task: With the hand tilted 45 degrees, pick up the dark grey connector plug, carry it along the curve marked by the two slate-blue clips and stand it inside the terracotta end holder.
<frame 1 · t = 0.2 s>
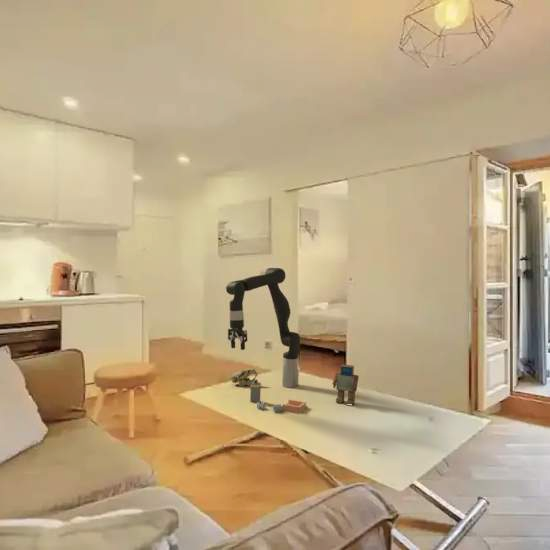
hand: (238, 348, 228), 28 cm above the table, tool pointing down, fingers open, 8 cm apart
plug: (255, 401, 228), on the table
skull: (243, 385, 260), on the table
clip b: (277, 411, 213), on the table
holder: (293, 408, 218), on the table
toy: (345, 403, 230), on the table
clip a: (260, 408, 217), on the table
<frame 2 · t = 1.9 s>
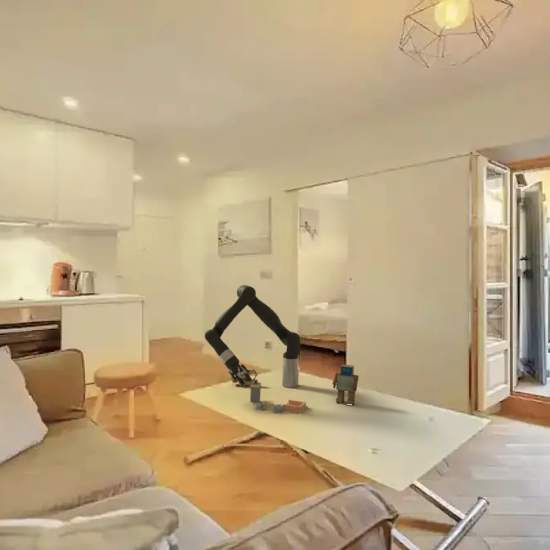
hand: (247, 382, 230), 10 cm above the table, tool tilted 45°, fingers open, 8 cm apart
nothing on the table moved.
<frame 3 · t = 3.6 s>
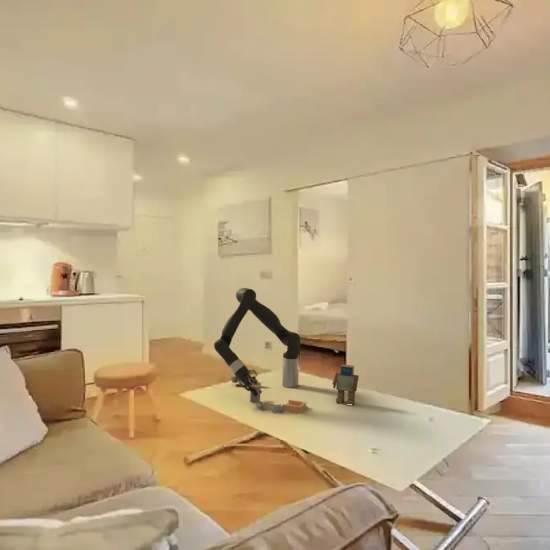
hand: (258, 394, 227), 4 cm above the table, tool tilted 45°, fingers closed on plug, 4 cm apart
plug: (255, 401, 228), on the table, touching gripper
everything else where it was.
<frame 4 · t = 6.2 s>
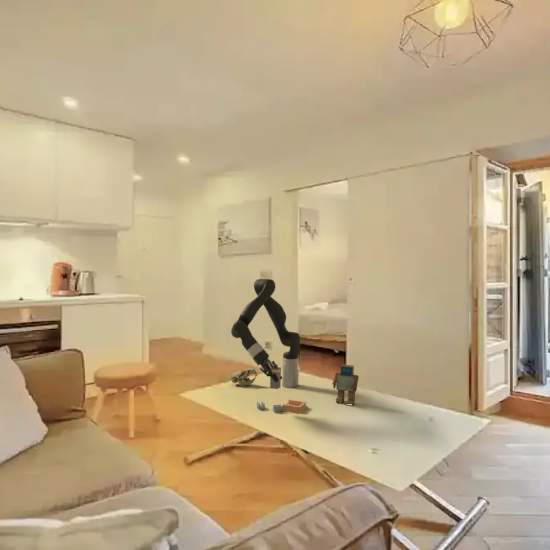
hand: (279, 380, 213), 16 cm above the table, tool tilted 45°, fingers closed on plug, 4 cm apart
plug: (275, 387, 214), point 12 cm above the table, touching gripper
everything else where it was.
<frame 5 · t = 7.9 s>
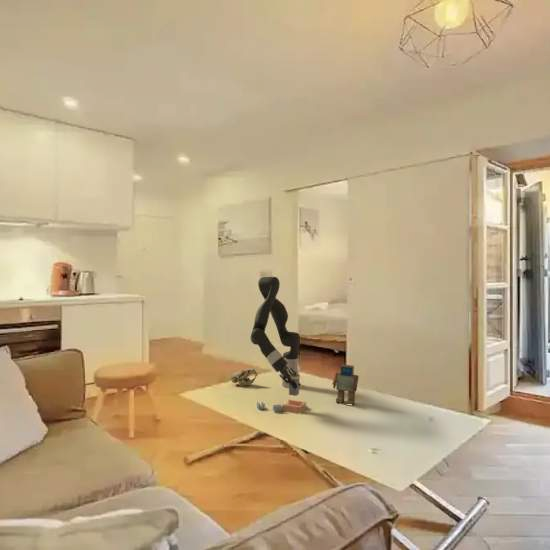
hand: (297, 386, 217), 12 cm above the table, tool tilted 45°, fingers closed on plug, 4 cm apart
plug: (293, 394, 218), point 8 cm above the table, touching gripper
everything else where it was.
when the fingers open (6 cm above the table, at t = 9.1 s): plug drops 1 cm, resting on holder.
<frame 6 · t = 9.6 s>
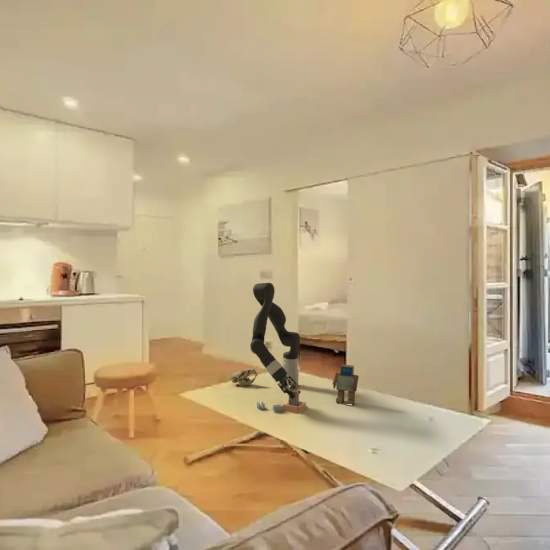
hand: (296, 395, 217), 7 cm above the table, tool tilted 45°, fingers open, 8 cm apart
plug: (293, 407, 218), point 1 cm above the table, touching holder
everything else where it was.
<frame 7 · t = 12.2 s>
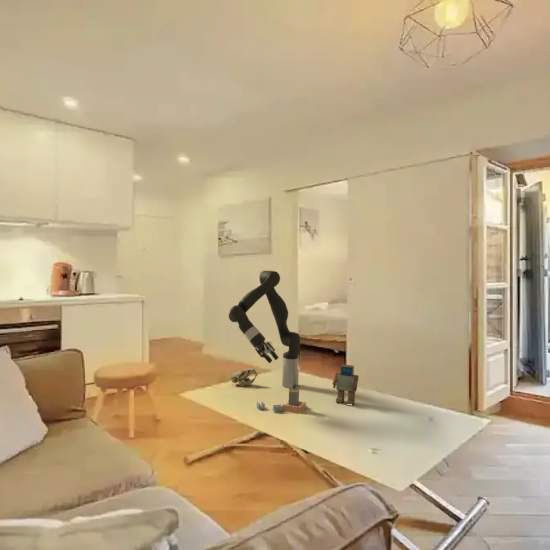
hand: (274, 360, 222), 24 cm above the table, tool tilted 45°, fingers open, 8 cm apart
nothing on the table moved.
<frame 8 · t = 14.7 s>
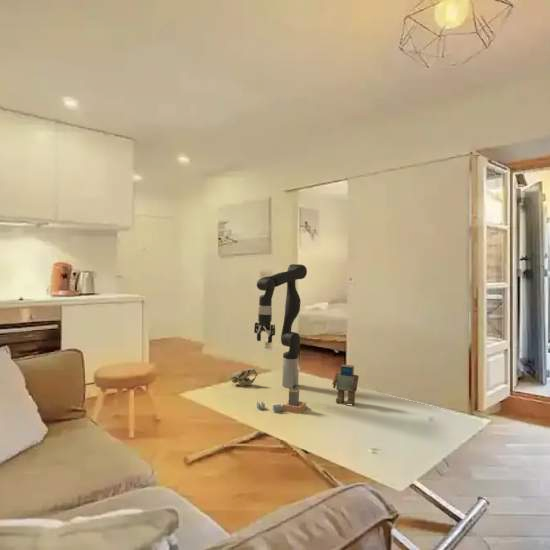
hand: (264, 341, 241), 30 cm above the table, tool pointing down, fingers open, 8 cm apart
nothing on the table moved.
at the end: plug 0.2 cm off-centre on the holder, point 0.8 cm above the holder's base; plug tilted 0°; the gripper is holding nothing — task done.
